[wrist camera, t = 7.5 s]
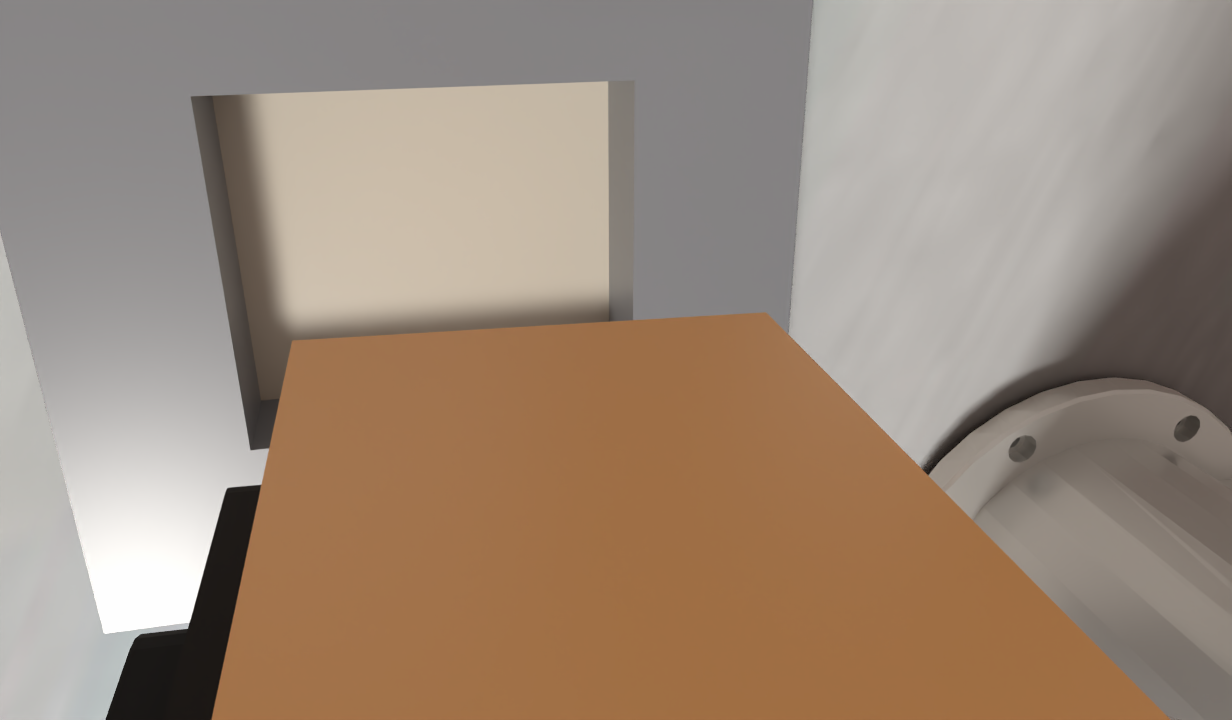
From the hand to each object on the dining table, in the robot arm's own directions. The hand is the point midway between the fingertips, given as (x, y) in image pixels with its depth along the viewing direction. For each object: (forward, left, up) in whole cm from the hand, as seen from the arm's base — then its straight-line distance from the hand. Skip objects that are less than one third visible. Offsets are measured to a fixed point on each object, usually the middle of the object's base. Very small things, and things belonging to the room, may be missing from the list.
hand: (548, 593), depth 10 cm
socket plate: (0, +1, -15) cm, 15 cm away
